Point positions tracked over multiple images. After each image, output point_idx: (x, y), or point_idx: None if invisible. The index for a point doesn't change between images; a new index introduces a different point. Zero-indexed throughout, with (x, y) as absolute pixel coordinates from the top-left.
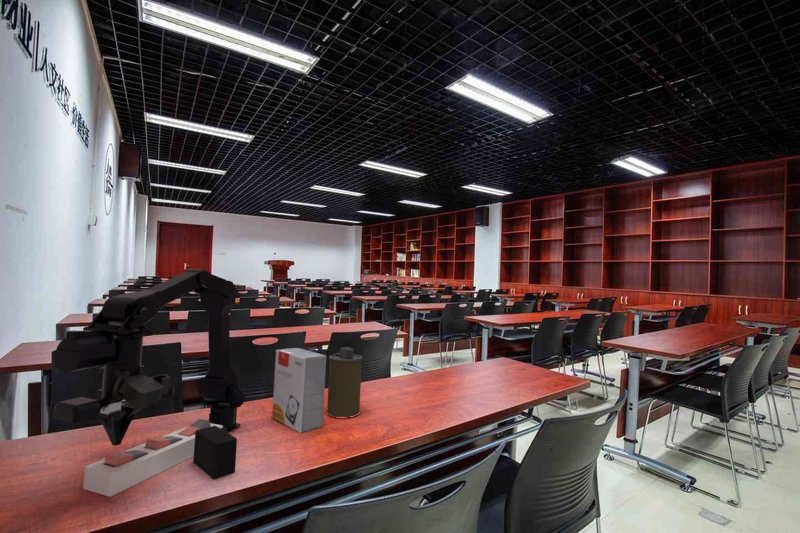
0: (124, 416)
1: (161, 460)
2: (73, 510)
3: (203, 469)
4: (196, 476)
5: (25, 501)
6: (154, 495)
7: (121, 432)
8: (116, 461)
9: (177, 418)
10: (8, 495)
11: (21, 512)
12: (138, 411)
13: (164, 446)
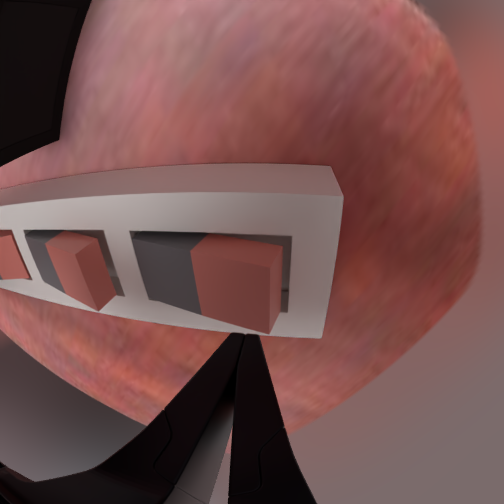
0: (180, 499)
1: (114, 181)
2: (418, 200)
3: (69, 57)
4: (101, 38)
5: (394, 336)
6: (255, 28)
7: (223, 392)
8: (276, 260)
9: (42, 354)
10: (376, 374)
11: (435, 303)
12: (66, 478)
13: (72, 234)
